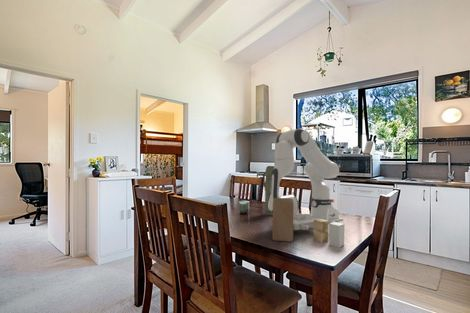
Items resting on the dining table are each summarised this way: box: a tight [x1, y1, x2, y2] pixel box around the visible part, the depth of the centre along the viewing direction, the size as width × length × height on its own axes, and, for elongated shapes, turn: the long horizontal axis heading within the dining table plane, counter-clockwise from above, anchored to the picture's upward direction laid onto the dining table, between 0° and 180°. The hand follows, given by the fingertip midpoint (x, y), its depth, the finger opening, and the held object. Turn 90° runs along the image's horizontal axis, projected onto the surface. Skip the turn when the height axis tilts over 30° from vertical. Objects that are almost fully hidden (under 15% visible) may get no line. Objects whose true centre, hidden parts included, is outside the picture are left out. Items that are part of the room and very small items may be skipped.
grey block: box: [328, 221, 345, 248], centre depth 121 cm, size 5×5×10 cm
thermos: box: [262, 165, 275, 217], centre depth 184 cm, size 9×12×35 cm
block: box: [272, 198, 294, 243], centre depth 129 cm, size 10×10×20 cm
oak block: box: [313, 219, 329, 243], centre depth 127 cm, size 5×5×10 cm
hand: (315, 227), depth 130 cm, fingers open, 8 cm apart
